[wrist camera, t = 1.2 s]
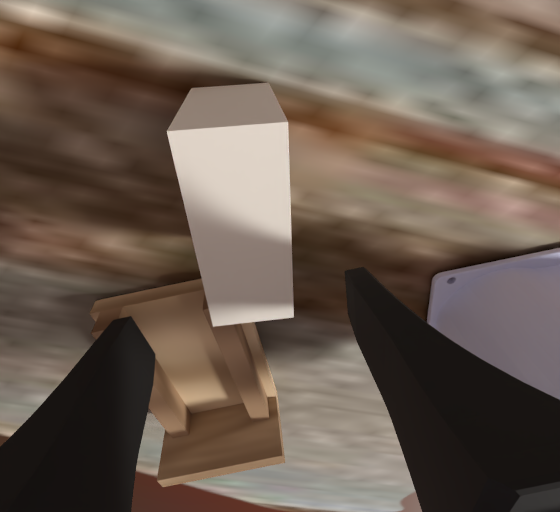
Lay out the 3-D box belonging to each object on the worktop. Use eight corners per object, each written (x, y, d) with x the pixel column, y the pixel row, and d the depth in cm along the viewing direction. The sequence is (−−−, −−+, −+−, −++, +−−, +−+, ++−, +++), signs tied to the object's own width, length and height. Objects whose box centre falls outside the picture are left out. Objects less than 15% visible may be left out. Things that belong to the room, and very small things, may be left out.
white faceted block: (268, 82, 13) (287, 122, 8) (277, 232, 17) (293, 317, 13) (185, 88, 13) (156, 131, 8) (213, 239, 17) (206, 327, 12)
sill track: (95, 300, 19) (57, 380, 14) (237, 270, 18) (239, 342, 14) (174, 412, 26) (162, 487, 22) (276, 391, 26) (285, 462, 21)
